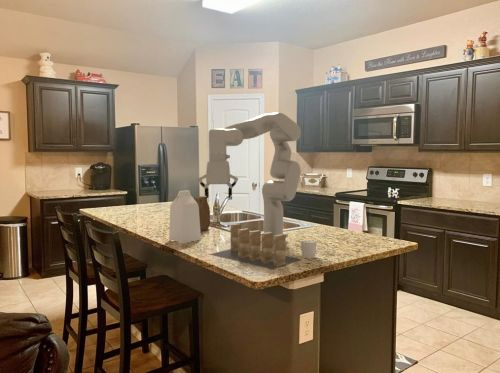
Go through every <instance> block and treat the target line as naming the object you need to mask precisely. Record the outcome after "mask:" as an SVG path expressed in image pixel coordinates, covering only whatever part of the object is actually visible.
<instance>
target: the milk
mask: <svg viewBox="0 0 500 373" xmlns="http://www.w3.org/2000/svg"><path fill="white" fill-rule="evenodd" d="M169 208H170V209H169V228H168V232H169V233H168V234H169V236H168V240H169V239H170V240H174V241H178V242H181V243H180V244H182V243H184V244H186V243H185V242H189V243H192V242H191V241H194V242H198V241H197V240H199V241H202V236H201V235H202V234H201V232H202V231H200V218H199V206H198V204H197V202H196V201H195V200H194V197H193V196H192V195H191V190H179V191H178V194H177V196H176V197H175V199H174V200H173V201H172V202H171V204H170V206H169Z"/></svg>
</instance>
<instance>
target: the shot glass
mask: <svg viewBox="0 0 500 373" xmlns="http://www.w3.org/2000/svg"><path fill="white" fill-rule="evenodd" d="M300 250H301V257H302V258H305V259H314V258H316V252H317V241H315V240H302V241H300Z"/></svg>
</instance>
